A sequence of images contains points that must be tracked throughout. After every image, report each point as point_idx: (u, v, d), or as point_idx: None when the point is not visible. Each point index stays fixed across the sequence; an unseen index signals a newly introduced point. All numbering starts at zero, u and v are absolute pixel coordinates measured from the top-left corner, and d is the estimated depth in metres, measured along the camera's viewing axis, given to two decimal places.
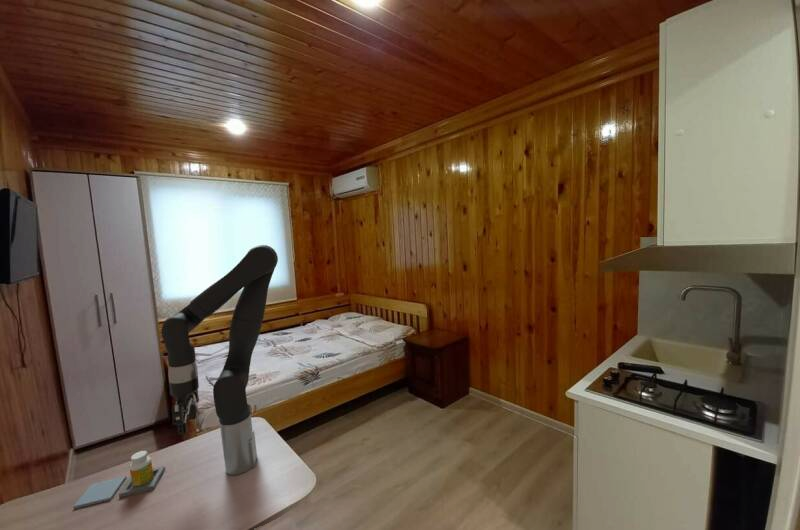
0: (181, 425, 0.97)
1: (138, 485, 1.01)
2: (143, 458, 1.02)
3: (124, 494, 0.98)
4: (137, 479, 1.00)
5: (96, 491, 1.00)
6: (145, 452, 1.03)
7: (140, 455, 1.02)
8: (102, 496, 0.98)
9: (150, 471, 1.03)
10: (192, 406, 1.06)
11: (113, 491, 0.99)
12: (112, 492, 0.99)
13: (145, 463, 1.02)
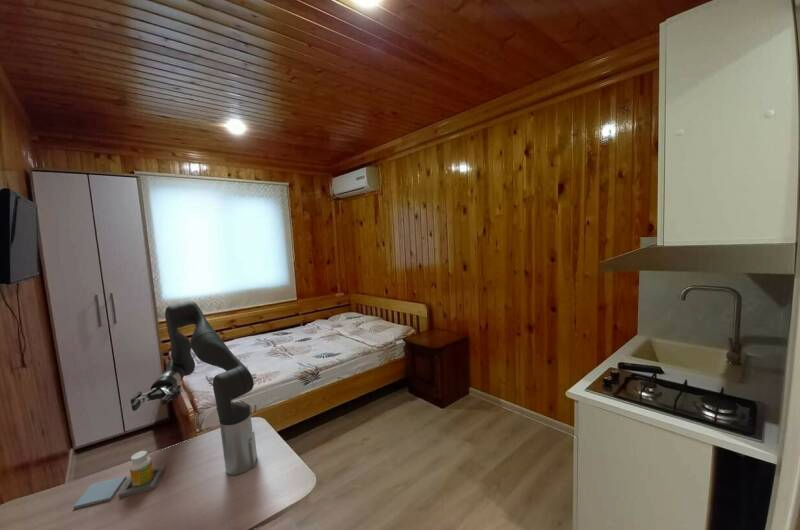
0: None
1: (138, 485, 1.01)
2: (143, 458, 1.02)
3: (124, 494, 0.98)
4: (137, 479, 1.00)
5: (96, 491, 1.00)
6: (145, 452, 1.03)
7: (140, 455, 1.02)
8: (102, 496, 0.98)
9: (150, 471, 1.03)
10: None
11: (113, 491, 0.99)
12: (112, 492, 0.99)
13: (145, 463, 1.02)
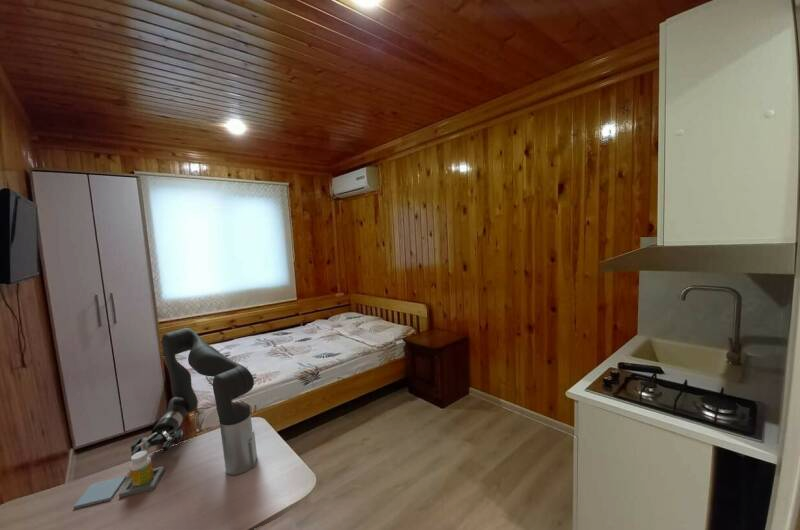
0: None
1: (138, 485, 1.01)
2: (143, 458, 1.02)
3: (124, 494, 0.98)
4: (137, 479, 1.00)
5: (96, 491, 1.00)
6: (145, 452, 1.03)
7: (140, 455, 1.02)
8: (102, 496, 0.98)
9: (150, 471, 1.03)
10: None
11: (113, 491, 0.99)
12: (112, 492, 0.99)
13: (145, 463, 1.02)
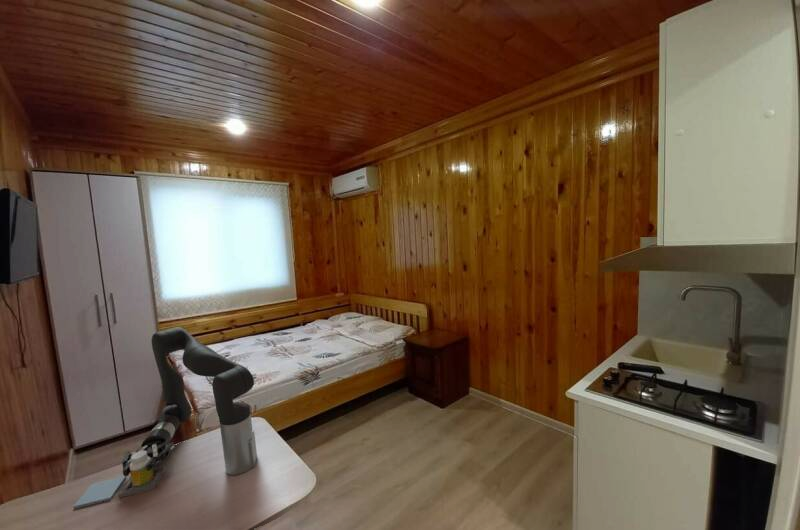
0: None
1: (138, 485, 1.01)
2: (143, 458, 1.02)
3: (124, 494, 0.98)
4: (137, 479, 1.00)
5: (96, 491, 1.00)
6: (145, 452, 1.03)
7: (140, 455, 1.02)
8: (102, 496, 0.98)
9: (150, 471, 1.03)
10: None
11: (113, 491, 0.99)
12: (112, 492, 0.99)
13: (145, 463, 1.01)
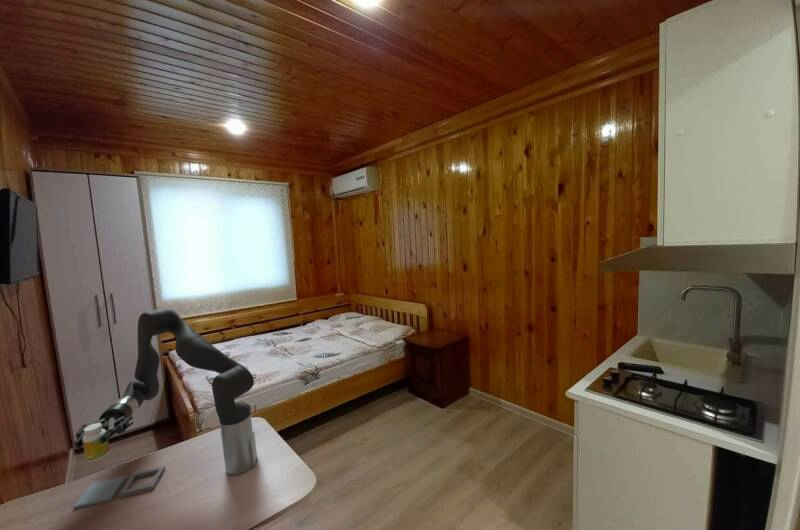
0: None
1: (91, 458, 0.97)
2: (96, 430, 0.98)
3: (124, 494, 0.98)
4: (90, 451, 0.96)
5: (96, 491, 1.00)
6: (99, 424, 0.99)
7: (94, 427, 0.98)
8: (102, 496, 0.98)
9: (105, 444, 0.99)
10: None
11: (113, 491, 0.99)
12: (112, 492, 0.99)
13: (98, 436, 0.97)
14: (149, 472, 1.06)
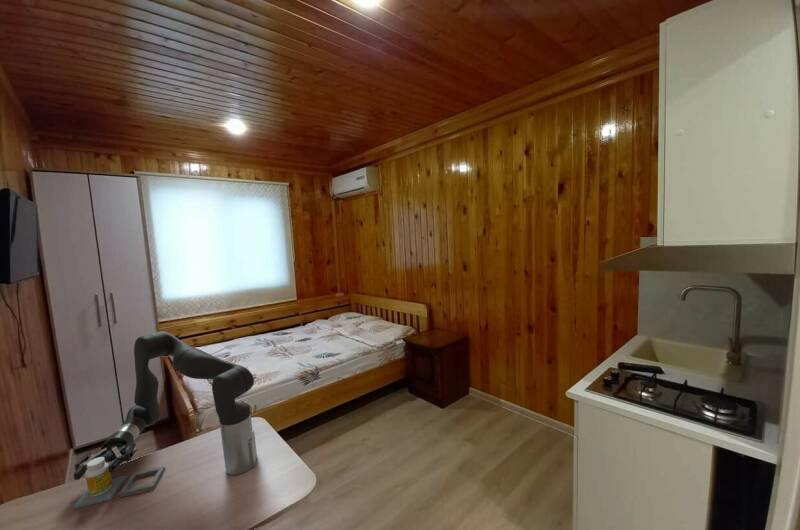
0: None
1: (94, 493, 0.97)
2: (100, 465, 0.98)
3: (124, 494, 0.98)
4: (93, 486, 0.97)
5: None
6: (102, 458, 1.00)
7: (97, 462, 0.99)
8: (102, 496, 0.98)
9: (107, 478, 1.00)
10: None
11: (113, 491, 0.99)
12: (112, 492, 0.99)
13: (101, 470, 0.98)
14: (149, 472, 1.06)
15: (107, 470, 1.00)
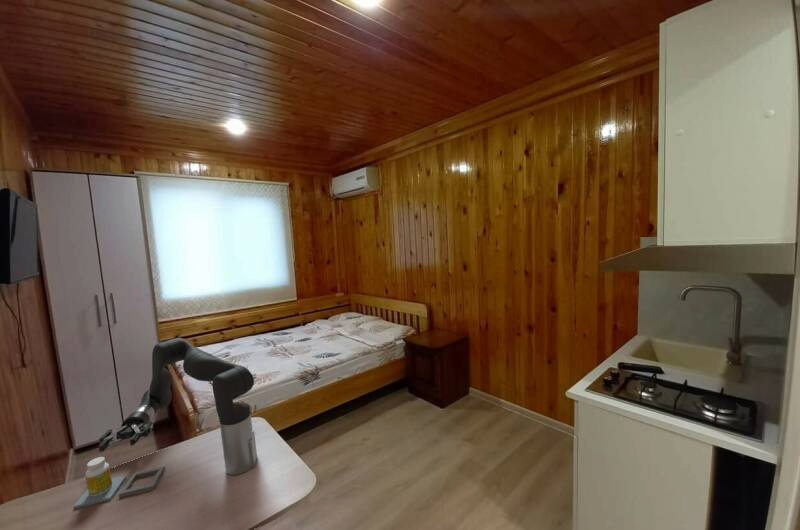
0: None
1: (94, 493, 0.97)
2: (100, 465, 0.98)
3: (124, 494, 0.98)
4: (93, 486, 0.97)
5: None
6: (102, 458, 1.00)
7: (97, 462, 0.99)
8: (102, 496, 0.98)
9: (108, 478, 1.00)
10: None
11: (113, 491, 0.99)
12: (112, 492, 0.99)
13: (101, 470, 0.98)
14: (149, 472, 1.06)
15: (107, 470, 1.00)
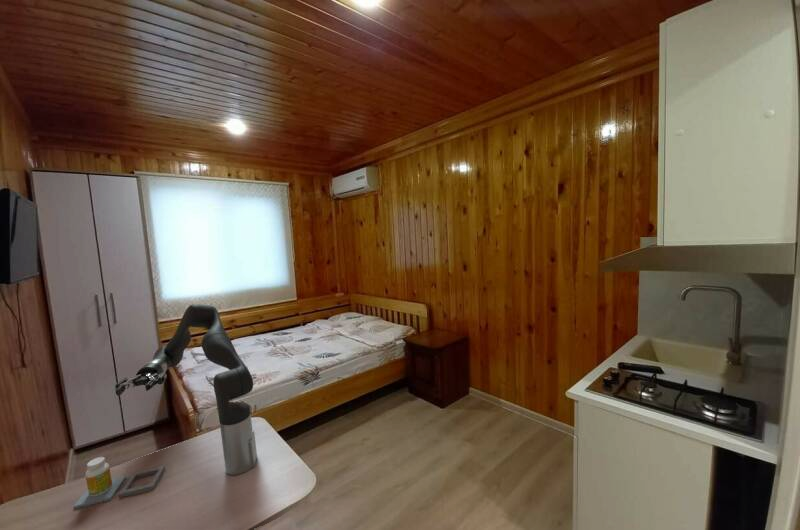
0: None
1: (94, 493, 0.97)
2: (100, 465, 0.98)
3: (124, 494, 0.98)
4: (93, 486, 0.97)
5: None
6: (102, 458, 1.00)
7: (97, 462, 0.99)
8: (102, 496, 0.98)
9: (108, 478, 1.00)
10: None
11: (113, 491, 0.99)
12: (112, 492, 0.99)
13: (101, 470, 0.98)
14: (149, 472, 1.06)
15: (107, 470, 1.00)
